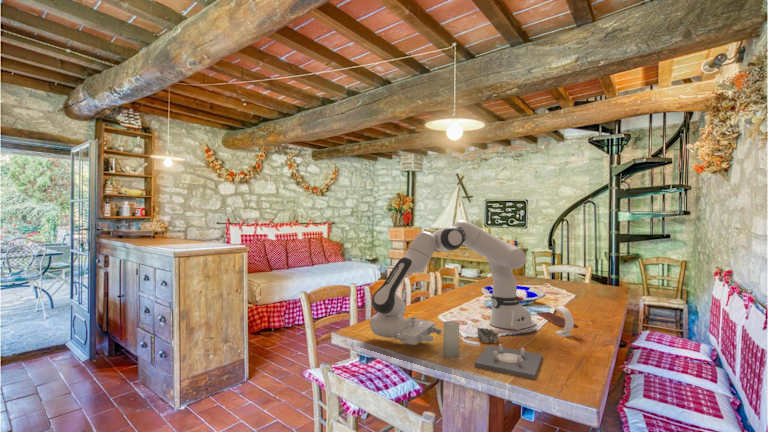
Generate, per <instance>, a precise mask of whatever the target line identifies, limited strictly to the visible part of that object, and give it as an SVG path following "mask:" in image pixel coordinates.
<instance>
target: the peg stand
mask: <svg viewBox="0 0 768 432" xmlns="http://www.w3.org/2000/svg"><path fill="white" fill-rule="evenodd" d="M542 360H543V354H542V353H537V352H530V351H526V349H525V347H524V348H523V347H521V348H520V350H519V349H514V348H508V347H503V344H501V343H499V344H498V346H497V345H491V344H488V345H487V346H486V347H485V349H484V350H483V351H482V352H481V353H480V355H479V356H478V357H477V358H476V360H475V361H474V367H475V368H478V369H483V370H489V371H493V372H498V373H503V374H507V375H512V376H517V377H521V378H526V379H529V380H530V379H532V380H536V378H537V375H538V372H539V369H540V366H541V364H542Z"/></svg>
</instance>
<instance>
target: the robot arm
mask: <svg viewBox="0 0 768 432" xmlns="http://www.w3.org/2000/svg"><path fill="white" fill-rule="evenodd" d="M463 245H464V246H465V247H466V248H468V249H469V250H472V252H474V253H477V254H478V255H480V256H482V257H484V258H486V260H487V261H488V264H489V269H490V272H491V277H492V294H491V306H492V308H491V313H490V315H491V316H490V320H489V324H490V325H491V326H493V327H496V328H500V329H508V330H509V329H511V330H514V331H515V330H516V331H519V330H523V329H527V328H530V327H535V326H537V322H536V321H535V320H533V319H532V315H531V311H529V310H528V309H527V308H526V307H524V306H523V305H522V304H521V303H520V302H524V300H525V299H524V297H523V296H518V295H517V279H516V277H515V276H514V273H513V270H518V269H521V268H523V266H525V264H526V261H527V257H526V253H525V252H524V250H522V249H521V248H519V247H516V246H515V245H513V244H512V243H509V242H507V241H505V240H503V239H501V238H499V237H497V236H495V235H493V234H491V233H489V232H488V231H486V230H484V229H482V228H480V227H479V226H478V225H476V224H474V223H472V222H469V221H467V220H464V219H460V220H457V221H455V222H454V223H453V225H452V226H447V227H442V228H440V229H436V230H433V231H432V232H428V231H424V230H423V231H420V232H419V233H417V235H416V236H415V237H414V239H413V240H412V242H411V243H410V244H409V246H408V249H407V251H406V252H405V254H404V256H403V257H402V258H400V259H399V260H398V261H397V262H396V264H395V266H393V268H392V270H391V272H390V273H389V274H388V275H387V277H386V279H385V280H384V282H383V284H382V285H381V286H380V287H379V288H378V289H377V290H376V291H375V292H374V293H373V295H372V298H371V306H372V308H373V309H374V311H376V312H377V313H375V314H373V315H372V316H371V318H370V320H369V327H370V330H371V332H372V333H373V334H375V335H377V336H379V337H381V338H387V339H391V338H393V339H395V340H397V341H400V342H401V343H403V344H407V345H410V346H416V345H418V344H419V343H421V342H430V343H431V342H432V341H433V340H434V336H433V335H431V334H434V333H435V334H436V335H441V334H443V330H442V329H441V328H437V327H436V326H435V322H433V321H430V320H426V319H418V317H409V318H407V317H405V312H406V310H407V309H406V307H407V306H406V303H405V300H404V299H402V298H401V297H400V296H398V295H397V291H398V290H399V288H400V286H401V284H402V283H403V281H404V279H405V278H406V276H408V275H411V274H419V273H422V272H424V271H425V270H426V268H427V267H428V265H429V263H430V261H431V258H432V257H433V255H434V253H435V252H437V253H441V252H442V253H443V252H445V253H446V252H450V251H455V250H458V249H459V248H460V247H461V246H463Z"/></svg>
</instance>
